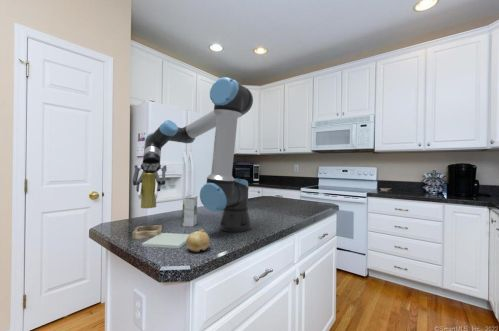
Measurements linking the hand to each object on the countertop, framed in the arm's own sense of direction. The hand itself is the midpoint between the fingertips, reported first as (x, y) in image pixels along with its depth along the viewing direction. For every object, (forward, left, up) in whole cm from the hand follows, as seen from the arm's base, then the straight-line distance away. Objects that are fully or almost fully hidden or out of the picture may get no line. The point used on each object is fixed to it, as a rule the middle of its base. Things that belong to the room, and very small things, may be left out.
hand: (147, 196), depth 96 cm
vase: (+1, -3, -5) cm, 6 cm away
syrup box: (-9, -21, -17) cm, 29 cm away
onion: (-25, +11, -17) cm, 32 cm away
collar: (+2, -3, -16) cm, 17 cm away
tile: (-11, +4, -16) cm, 20 cm away
